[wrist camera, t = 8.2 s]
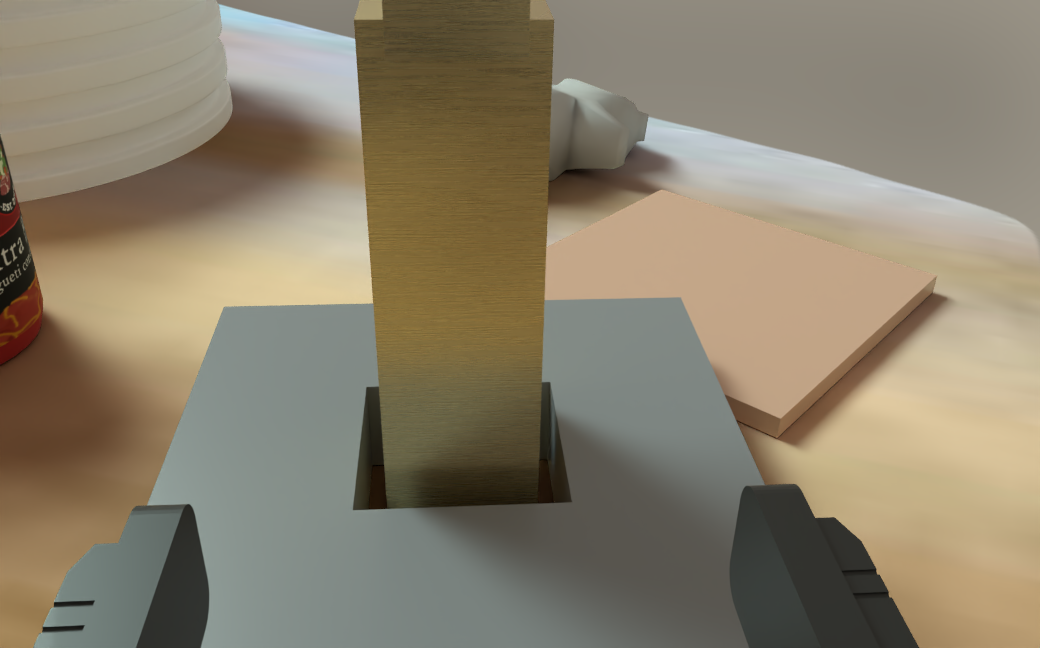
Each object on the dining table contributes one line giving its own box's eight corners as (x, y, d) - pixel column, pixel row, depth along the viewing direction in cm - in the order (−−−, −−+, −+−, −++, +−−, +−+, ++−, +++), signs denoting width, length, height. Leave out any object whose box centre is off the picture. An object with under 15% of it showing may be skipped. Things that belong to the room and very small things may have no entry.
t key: (546, 653, 25) (578, -95, 16) (386, 660, 24) (329, -97, 15) (517, 420, 33) (528, -147, 24) (400, 424, 33) (368, -150, 24)
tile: (777, 438, 33) (780, 418, 32) (472, 301, 40) (472, 284, 40) (932, 291, 42) (937, 275, 41) (660, 203, 50) (661, 189, 49)
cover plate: (817, 743, 22) (840, 653, 21) (104, 782, 21) (75, 690, 20) (672, 367, 36) (680, 297, 35) (235, 379, 35) (224, 306, 34)
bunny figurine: (690, 98, 52) (462, 116, 44) (672, 189, 55) (453, 223, 46) (576, 59, 59) (357, 67, 50) (564, 141, 61) (353, 163, 52)
